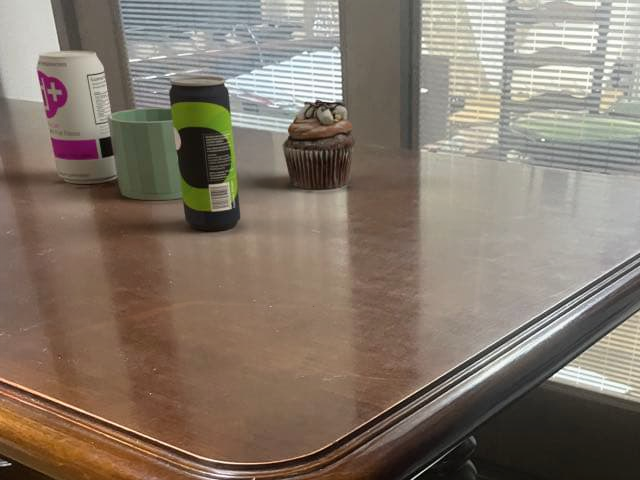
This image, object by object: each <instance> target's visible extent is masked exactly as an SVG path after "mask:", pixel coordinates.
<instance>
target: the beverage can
mask: <svg viewBox="0 0 640 480" xmlns="http://www.w3.org/2000/svg"><path fill="white" fill-rule="evenodd" d="M169 82H170V84H171V87H170V88H169V92H168V96H169V104H170V108H171V112H172V120H173V128H174V135H175V143H176V151H177V158H178V166H179V174H180V182H181V189H182V197H183V198H182V203H183V212H184V220H185V221H186V223H187V224H188V225H189V226H190V227H191V228H192V229H194V230H197V231H201V232H220V231H221V232H222V231H226V230H230V229H232V228H235V227H236V226H237V224H238V223H239V221H240V219H241V209H240V208H241V207H240V199H239V198H240V197H239V189H238V175H237V166H236V157H235V156H236V154H235V145H234V134H233V124H232V123H233V122H232V112H231V103H230V93H229V88H227V86H226V85H225V83H226V79H225V78H224V77H220V76H215V75H214V76H211V75H189V76H188V75H186V76H178V77H174V78H173V77H172V78H170V80H169Z"/></svg>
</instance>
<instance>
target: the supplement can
mask: <svg viewBox="0 0 640 480" xmlns="http://www.w3.org/2000/svg"><path fill="white" fill-rule="evenodd" d="M97 55H98V54H97V53H96V52H95V51H91V50H90V51H89V50H57V51H46V52H40V53H38V59H37V64H36V74H37V78H38V84H39V88H40V93H41V98H42V103H43V107H44V112H45V116H46V121H47V127H48V132H49V136H50V141H51V146H52V152H53V156H54V160H55V165H56V171H57V175H58V176H59V177H60V178H62V179H63V181H64V182H67V183H70V184H76V185H77V184H78V185H91V184H103V183H106V182H107V183H108V182H111V181H113V180H116V179H118V178H117V172H116V166H115V160H114V154H113V148H112V142H111V136H110V130H109V124H108V119H107V117H108V115H110V114H112V109H111V103H110V97H109V92H108V85H107V80H106V73H105V68H104V67H105V66H104V65H103V63H102V61H101V60H100V58H99V57H98V56H97Z"/></svg>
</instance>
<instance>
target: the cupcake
mask: <svg viewBox="0 0 640 480" xmlns="http://www.w3.org/2000/svg"><path fill="white" fill-rule="evenodd" d="M303 104H304V105H303V107H302V108H301V109H300V110H299V111H298V113H296V114H295V118H294V119H293V121H292V123H291V124H289V126H288V128H287V133H288V134H289V135H288V136H287V138H286V139H285V141H283V143H282V144H281V146H282V151H283V156H284V159H285V163H286V168H287V174H288V177H289V181H290V185H292V186H293V187H296V188H299V189H305V190H332V189H339V188H342V187H344V186H346V185H348V183H349V179H350V173H351V167H352V158H353V154H354V150H355V144H356V140H355V138H354V135H353V134H352V131H354V130H353V125H352V123H351V122H350V121H349V120H348V110H347V108H346V107H345V106H346V105H345V103H344V102H341V101H333V102H332V101H331V102H330V101H322V100H320V99H316V100H315V101H314V102H311V101H304V103H303Z"/></svg>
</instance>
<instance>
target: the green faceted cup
mask: <svg viewBox="0 0 640 480" xmlns="http://www.w3.org/2000/svg"><path fill="white" fill-rule="evenodd" d="M107 119H108V124H109V130H110V136H111V142H112V148H113V154H114V160H115V166H116V172H117V178H116V179H117V183H118V188H119V193H120V194H121V196H123V197H124V198H129V199H133V200H139V201H171V200H172V201H173V200H180V199H183V197H182V189H181V182H180V174H179V166H178V158H177V151H176V143H175V135H174V128H173V120H172V112H171V107H146V108H145V107H144V108H143V107H142V108H133V109H126V110H119V111H116V112H111V114H110V115H108V117H107Z"/></svg>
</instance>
